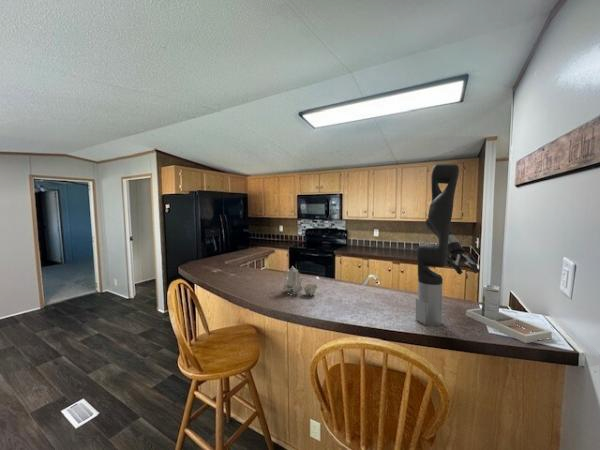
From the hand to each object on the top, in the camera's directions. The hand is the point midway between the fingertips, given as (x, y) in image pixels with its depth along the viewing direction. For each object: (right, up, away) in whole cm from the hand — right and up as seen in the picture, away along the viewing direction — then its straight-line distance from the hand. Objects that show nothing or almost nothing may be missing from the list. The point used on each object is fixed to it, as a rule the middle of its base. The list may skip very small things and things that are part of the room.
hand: (468, 273), depth 119 cm
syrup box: (+2, -18, -10) cm, 21 cm away
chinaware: (-81, -17, +31) cm, 89 cm away
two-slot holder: (+4, -18, -16) cm, 25 cm away
